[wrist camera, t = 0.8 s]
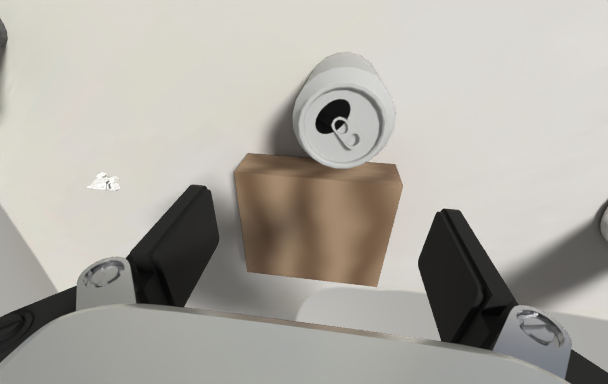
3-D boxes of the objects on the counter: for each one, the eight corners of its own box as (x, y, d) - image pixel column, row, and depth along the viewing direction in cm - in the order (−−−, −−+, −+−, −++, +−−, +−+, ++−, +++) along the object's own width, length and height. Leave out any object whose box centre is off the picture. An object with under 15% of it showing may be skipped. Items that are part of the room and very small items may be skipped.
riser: (395, 164, 32) (403, 185, 28) (373, 259, 41) (376, 286, 37) (247, 153, 34) (234, 172, 30) (256, 246, 42) (247, 271, 38)
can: (344, 32, 26) (344, 41, 16) (395, 89, 28) (424, 129, 18) (293, 92, 29) (266, 130, 19) (341, 138, 31) (341, 195, 21)
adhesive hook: (119, 172, 39) (102, 183, 36) (125, 187, 40) (109, 199, 37) (99, 170, 39) (81, 181, 36) (105, 185, 40) (89, 197, 38)
